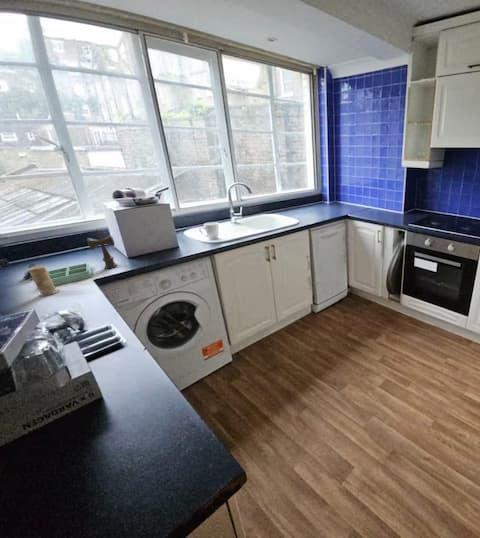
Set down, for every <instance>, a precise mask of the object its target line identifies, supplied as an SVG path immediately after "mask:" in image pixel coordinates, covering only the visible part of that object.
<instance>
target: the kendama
mask: <svg viewBox="0 0 480 538" xmlns="http://www.w3.org/2000/svg"><path fill="white" fill-rule="evenodd" d="M95 233H96V236H97V239H95V238H90V237H87V238H86V241H87V245H88V247H89V249H90V250H91V251H93V250H95V249H96V248H97V247H99V246H100V247H101V251H102V255H103V258H102V261H103V262H104V269H112V268H113V269H114V268H115V267H117V266H118V263H116V262H115V260H114V259H115V258H114V256H112V255H111V254H110V252H109V250H108V249H107V247H106V245H108V246H111V247H112V246H113V247H115V245H116V244H115V239H114V238H113V235H112V234H109V235H107V236H106V237H104V238H102V237H101V235H100V233H99V231H98V229H95Z"/></svg>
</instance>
